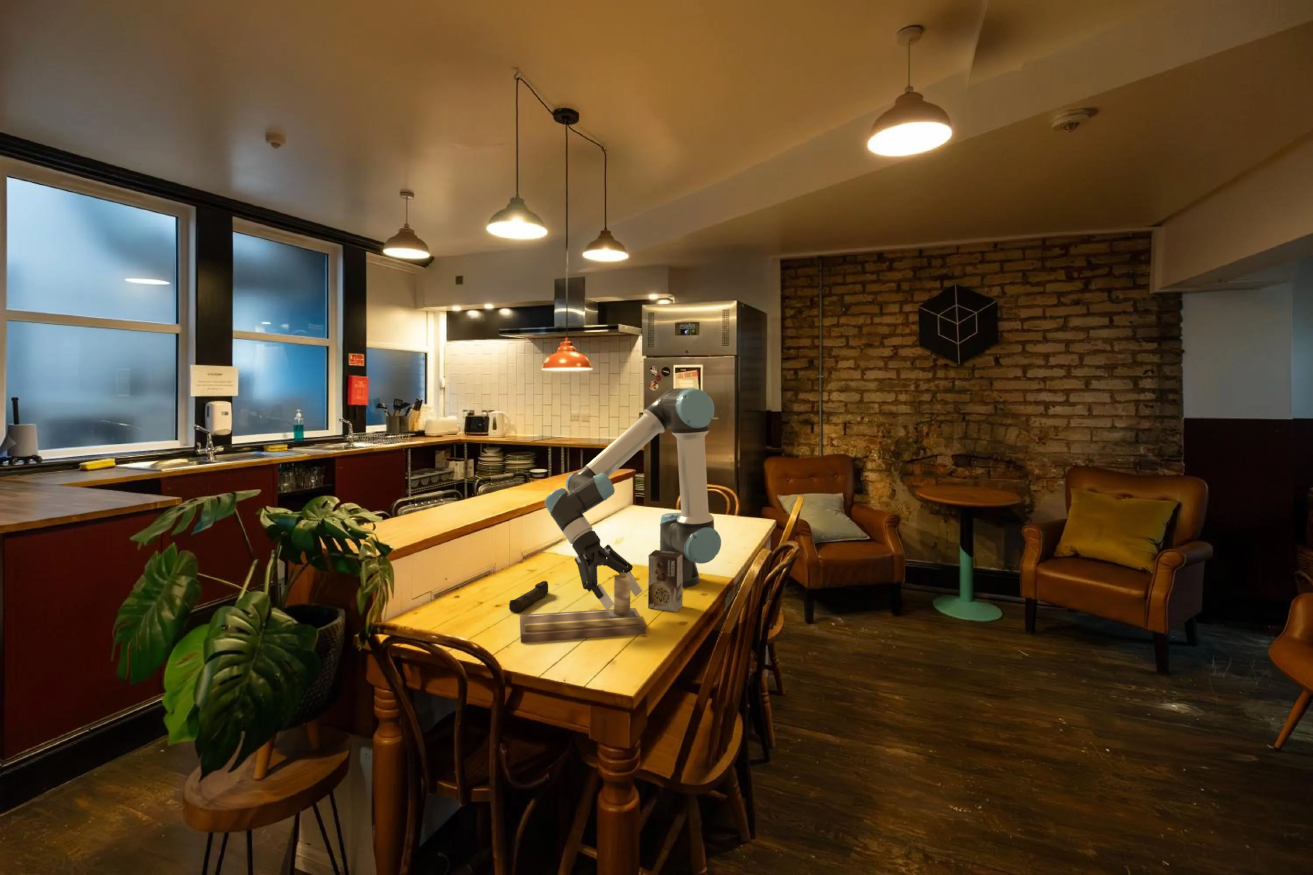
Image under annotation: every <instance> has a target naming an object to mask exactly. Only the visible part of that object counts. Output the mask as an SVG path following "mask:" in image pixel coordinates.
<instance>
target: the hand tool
mask: <svg viewBox="0 0 1313 875" xmlns="http://www.w3.org/2000/svg"><path fill="white" fill-rule="evenodd" d="M548 593H549V583H548V581H547V580H543V581H540V582H537V583H536V584H535V585H534V588H532V589H531V590H528V592H525V593H523V594H522V595H520V596H518V597H516V598H514V599H510V600H509V603H508V608H509V611H510V612H511V613H517V614H518V613H521V612H522V611H523V610H524V609H525V608H527V607H528V606H530V605H531V604H533V603H535V602H536V601H538V600H543V599H544V598H546V597H547V595H548Z"/></svg>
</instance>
